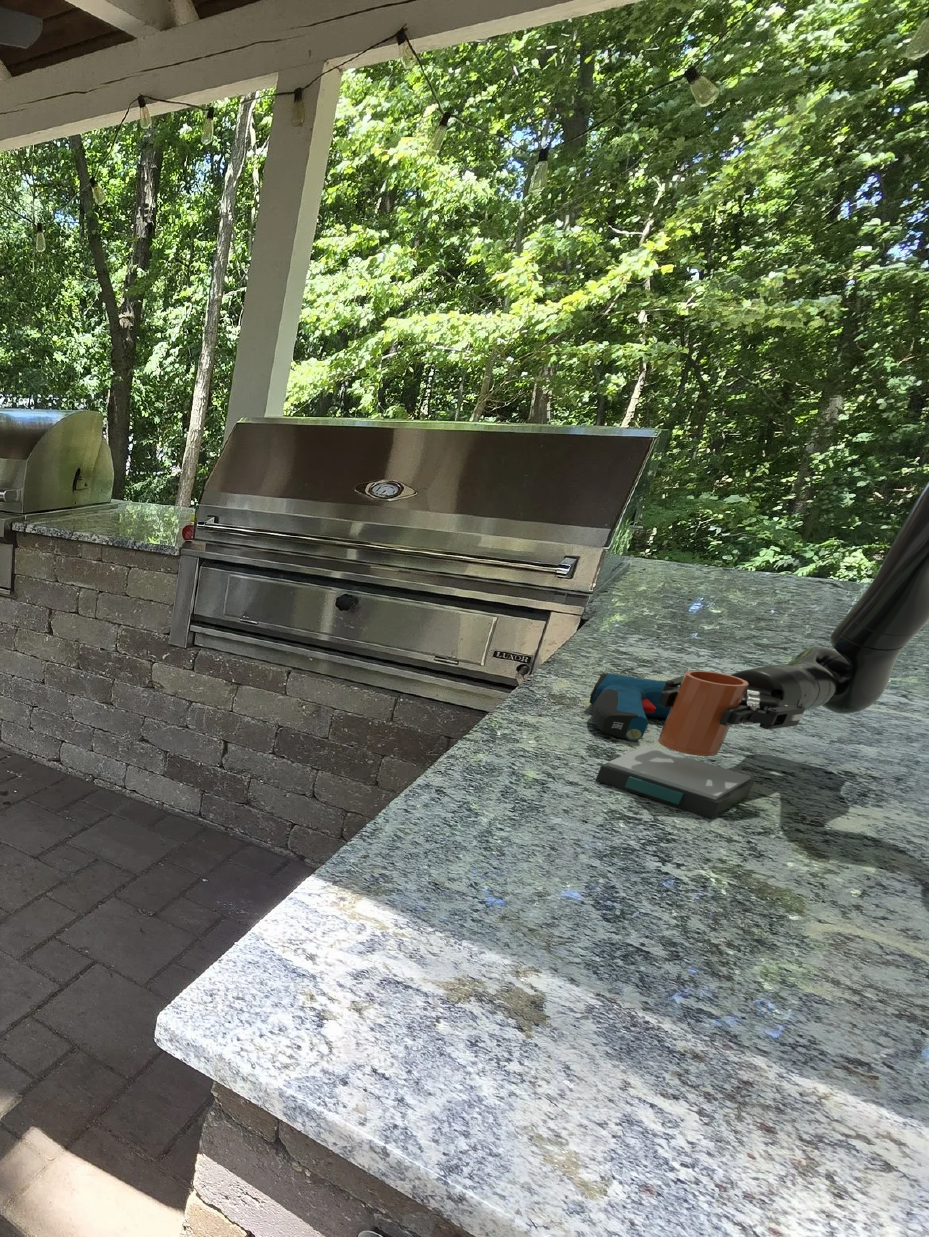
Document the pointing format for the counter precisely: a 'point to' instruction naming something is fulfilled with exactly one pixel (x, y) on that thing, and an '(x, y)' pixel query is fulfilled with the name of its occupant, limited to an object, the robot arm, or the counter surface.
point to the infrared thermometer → (626, 704)
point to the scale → (677, 780)
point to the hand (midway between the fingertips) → (694, 708)
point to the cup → (701, 712)
